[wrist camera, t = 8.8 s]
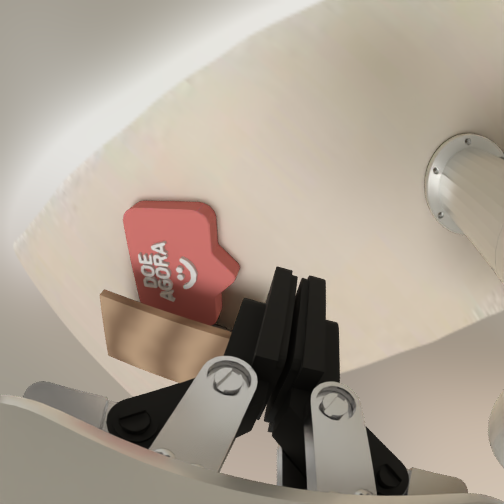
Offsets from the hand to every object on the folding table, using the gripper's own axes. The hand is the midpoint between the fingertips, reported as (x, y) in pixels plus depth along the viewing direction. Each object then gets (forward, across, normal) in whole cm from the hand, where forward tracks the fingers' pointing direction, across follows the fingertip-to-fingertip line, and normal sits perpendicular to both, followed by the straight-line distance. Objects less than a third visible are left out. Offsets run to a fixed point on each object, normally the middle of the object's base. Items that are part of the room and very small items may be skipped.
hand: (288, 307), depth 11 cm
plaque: (+28, +12, +19) cm, 36 cm away
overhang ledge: (+27, +10, +26) cm, 39 cm away
